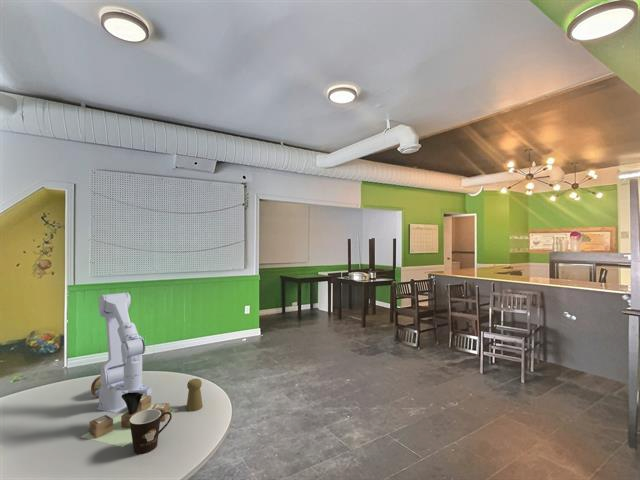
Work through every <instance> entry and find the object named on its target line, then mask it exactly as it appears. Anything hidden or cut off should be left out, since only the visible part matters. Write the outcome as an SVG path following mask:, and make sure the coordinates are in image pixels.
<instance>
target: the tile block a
mask: <svg viewBox="0 0 640 480" xmlns="http://www.w3.org/2000/svg"><path fill="white" fill-rule="evenodd" d="M88 423H89V430H88V431H89V432H88V433H89V434H91V435H92V436H94V437H95V438H99V437H101V436H103V435H105V434H107V433H110V432H112V431H113V418H112V417H110V416H109V415H107V414H104V415H103V416H99V417H97V418H95V419H93V420H89V422H88Z"/></svg>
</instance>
